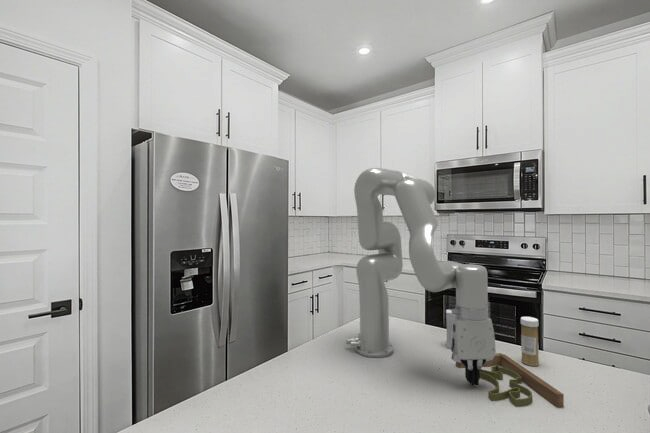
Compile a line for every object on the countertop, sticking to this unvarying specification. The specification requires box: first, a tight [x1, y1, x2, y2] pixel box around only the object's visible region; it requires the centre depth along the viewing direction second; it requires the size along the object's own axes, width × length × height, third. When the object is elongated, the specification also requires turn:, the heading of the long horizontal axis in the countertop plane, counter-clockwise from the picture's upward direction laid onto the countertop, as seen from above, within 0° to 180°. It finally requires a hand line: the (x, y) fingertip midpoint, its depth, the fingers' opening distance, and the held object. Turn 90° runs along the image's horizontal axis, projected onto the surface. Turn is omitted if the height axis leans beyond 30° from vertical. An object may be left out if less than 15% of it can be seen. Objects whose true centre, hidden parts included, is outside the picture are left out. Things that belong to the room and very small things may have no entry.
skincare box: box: [445, 309, 456, 349], centre depth 111 cm, size 6×4×12 cm
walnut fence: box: [455, 352, 565, 408], centre depth 86 cm, size 15×23×3 cm, turn 4°
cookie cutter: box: [480, 365, 533, 408], centre depth 85 cm, size 18×12×2 cm, turn 177°
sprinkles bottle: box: [520, 316, 540, 367], centre depth 98 cm, size 5×5×14 cm
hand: (472, 382), depth 85 cm, fingers closed
